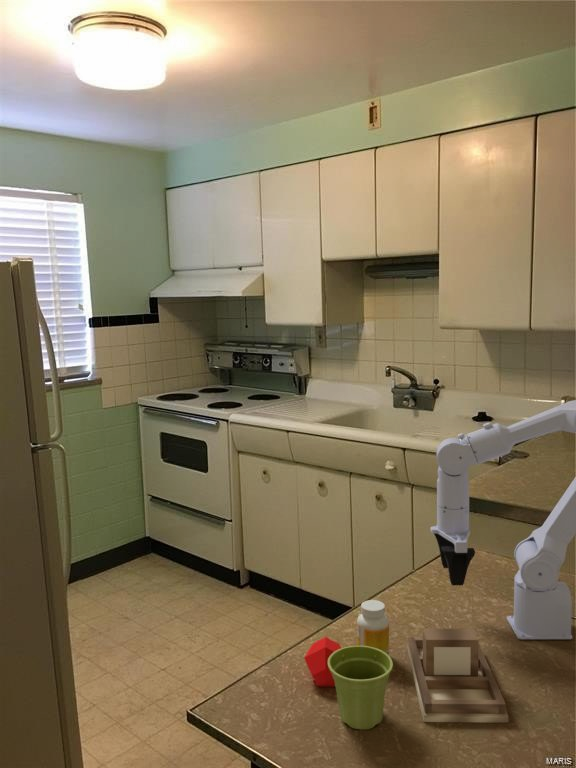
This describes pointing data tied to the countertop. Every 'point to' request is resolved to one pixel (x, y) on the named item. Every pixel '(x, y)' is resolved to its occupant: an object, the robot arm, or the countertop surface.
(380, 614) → the supplement bottle
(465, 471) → the robot arm
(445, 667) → the frame block
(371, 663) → the plant pot
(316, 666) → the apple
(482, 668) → the notch rack
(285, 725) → the countertop surface
